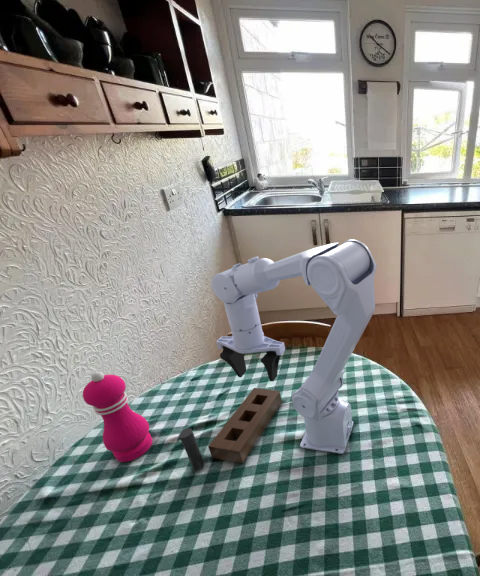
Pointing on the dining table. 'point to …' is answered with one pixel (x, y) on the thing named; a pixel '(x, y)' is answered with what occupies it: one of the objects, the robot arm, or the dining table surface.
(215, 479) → the dining table surface
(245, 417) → the holder
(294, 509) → the dining table surface
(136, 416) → the pepper mill
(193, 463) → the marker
